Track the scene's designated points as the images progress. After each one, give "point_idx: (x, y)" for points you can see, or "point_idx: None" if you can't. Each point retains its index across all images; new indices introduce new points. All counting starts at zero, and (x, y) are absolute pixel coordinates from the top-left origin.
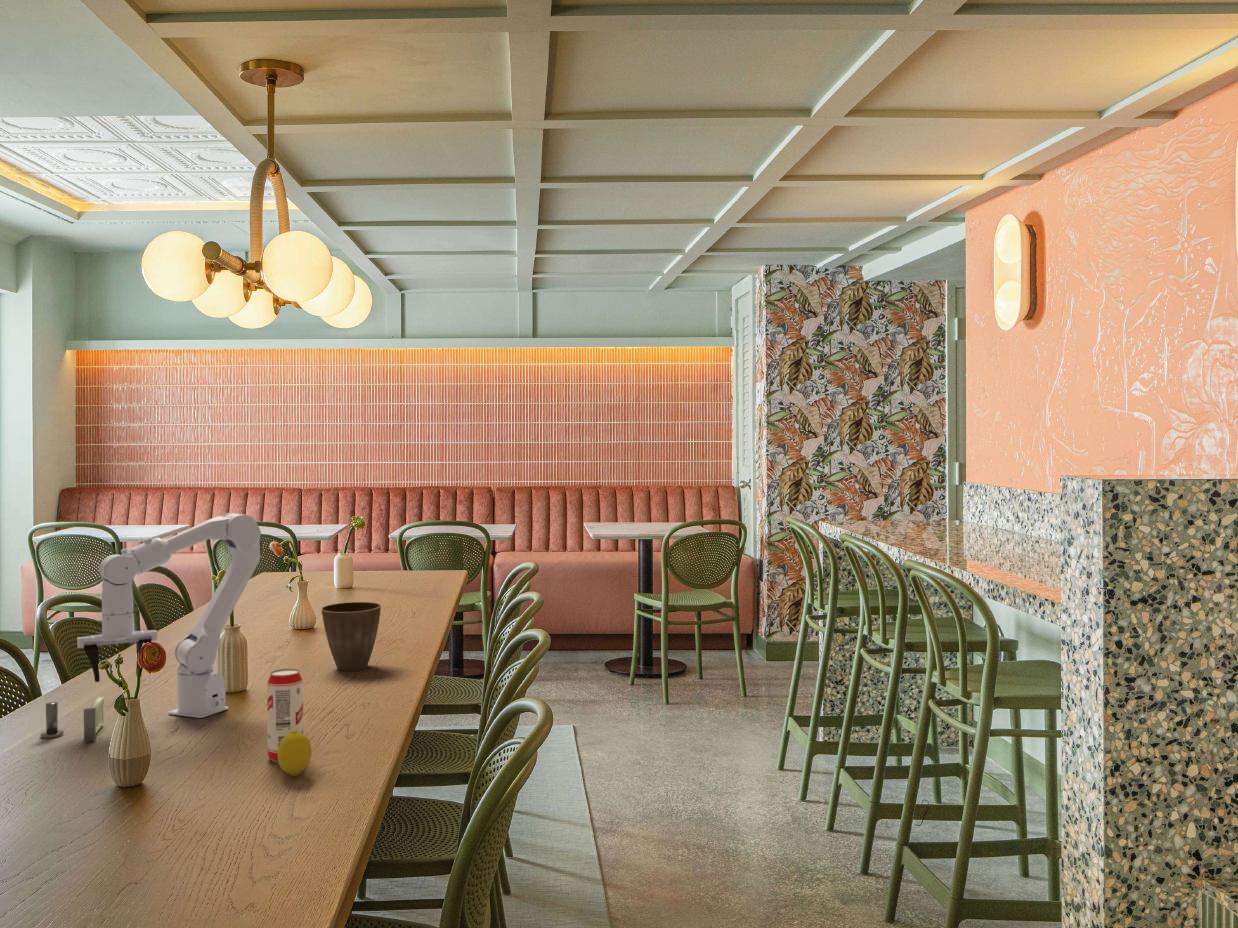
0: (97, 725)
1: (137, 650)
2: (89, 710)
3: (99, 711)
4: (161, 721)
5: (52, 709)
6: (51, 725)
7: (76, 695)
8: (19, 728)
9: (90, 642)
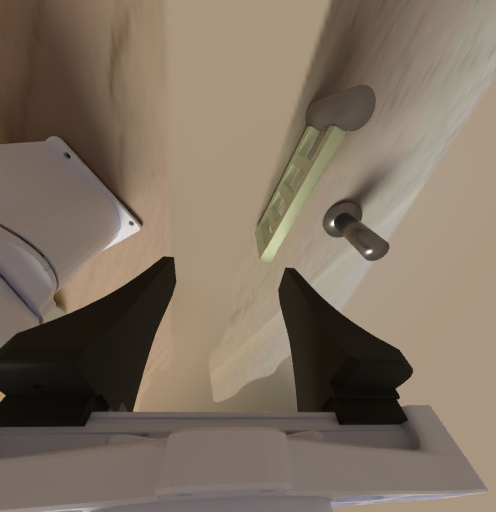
0: (284, 183)
1: (136, 359)
2: (366, 86)
3: (276, 217)
4: (155, 182)
5: (374, 234)
6: (357, 219)
7: (245, 364)
8: (347, 285)
9: (375, 442)
